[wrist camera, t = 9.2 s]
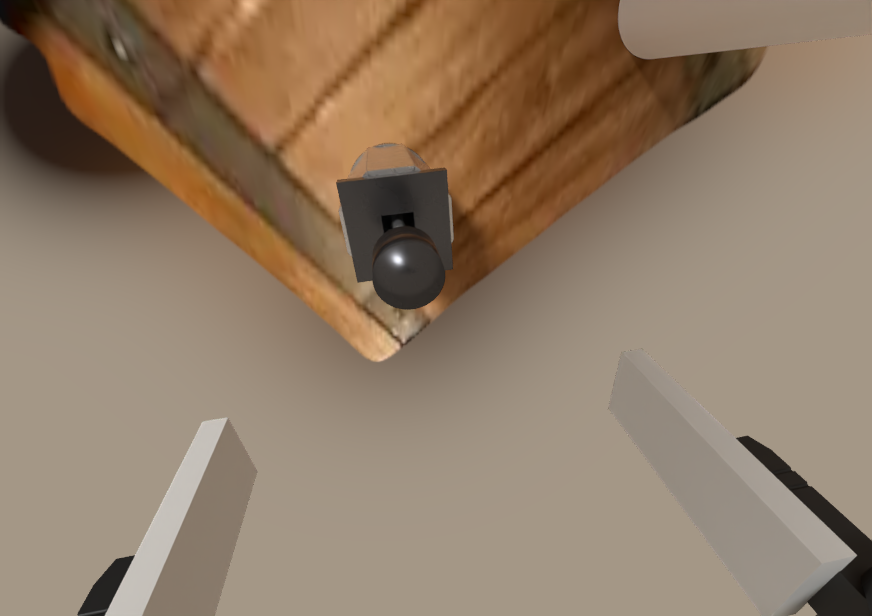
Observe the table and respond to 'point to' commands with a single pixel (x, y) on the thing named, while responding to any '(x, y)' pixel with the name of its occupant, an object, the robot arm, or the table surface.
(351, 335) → the table surface
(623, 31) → the cylinder container
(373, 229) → the press carafe
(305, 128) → the table surface
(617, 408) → the robot arm
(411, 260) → the plunger
